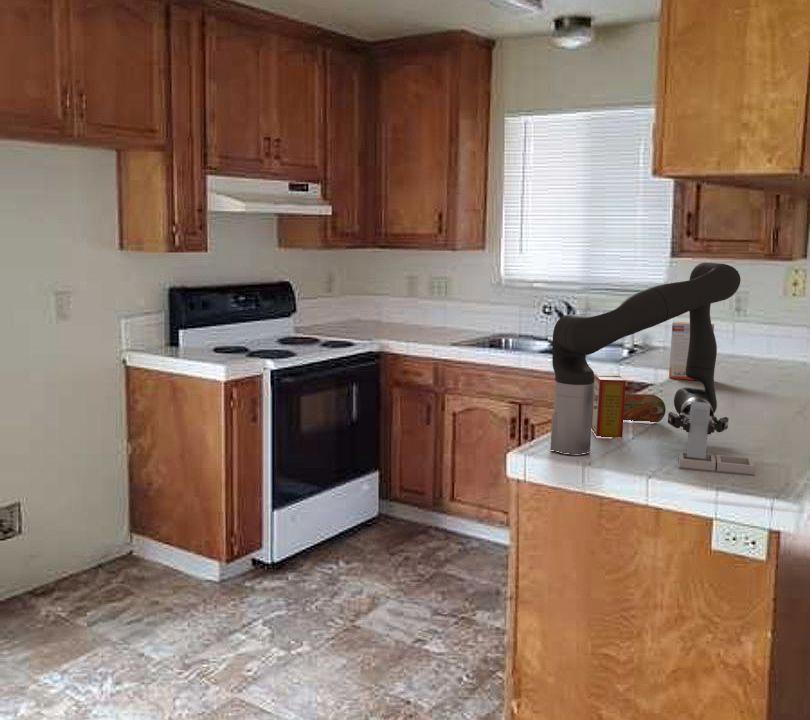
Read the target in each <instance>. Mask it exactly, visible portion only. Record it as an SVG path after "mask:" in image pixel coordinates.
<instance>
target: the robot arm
mask: <svg viewBox="0 0 810 720" xmlns="http://www.w3.org/2000/svg"><path fill="white" fill-rule="evenodd" d="M740 285H741V275H740V273H739V271H738V270H737V269H736V268H735V267H733V266H731V265H729V264H725V263H720V262H719V263H718V262H699V263H698V264H697V265H695V266H694V267H693V269H692V270H691V272H690V275H689V280H688V279H687V280H683V281H678V282H677V281H676V282H670V283H662V284H658V285H654V286H650V287H647V288H645V289H642V290H640V291H637V292H635V293H633V294H631V295H629V296H628V297H627V298H625V300H623V301H622V302H621V303H620V305H619V306H617V307H616V308H615V309H611V310H610V311H607V312H604V313H601V314H598V315H593V316H584V315H579V314H571V313H570V314H565V315H562V316H561V317H560V318H559V319H558V320H557V321H556V323H555V325H554V328H553V331H552V343H551V344H552V347H551V348H552V350H551V351H552V359H551V360H552V362H551V363H552V364H551V365H552V370H553V372H554V376H555V377H554V393H553V396H554V397H553V412H552V414H551V429H550V430H551V432H550V450H554V451H559V452H562V453H569V454H582V453H587V452H589V451H590V452H591V446H592V445H591V439H592V431H591V426H592V409H593V391H594V374H595V372H594V370H593V369H592V368H591V367H590V366H589V364H588V361H587V359H586V356H588V355H592V354H594V353H596V352H598V351H600V350H602V349H604V348H606V347H608V346H609V345H611V344H613V343H615V342H617V341H619V340H620V339H623V338H626V337H628V336H632V335H634V334H637V333H639V332H642V331H644V330H647V329H650V328H652V327H655V326H657V325H661V324H662V323H665V322H667V321H669V320H671V319H674V318H676V317H679V316H682V315H683V314H686V313H688V312H689V322H690V340H689V349H688V356H687V364H686V376H687V377H689V378H691V379H694V380H693V381H695V380H697V381H696V382H699V383H701V384H702V385H703V386H704V389H702V388H696V387H695V388H693V387H680V388H679V389H677V391H676V393H675V395H674V397H673V406H674V409H675V411H676V412H677V413H675V412H672V411H669V412H668V415H667V424H669V425H670V426H672V427H673V428H676V429H680V428H681V427H682V430H683V431H685V433H688V432H689V431H690V420H689V419H690V407H691V402H703V403H710V414H709V424H708V433H707V434H708V435H711V434H713V433H715V432H716V433H722V432H725V430H727V429H728V428H729V419H730V418H729V417H726V416H723V417H719V419H718V418H717V417H716V416H715V412H716V411H717V407H718V402H717V401H718V400H717V394H716V388H715V370H716V369H715V368H716V362H717V356H718V355H717V353H718V347H717V345H718V344H717V339H716V336H715V331H714V332H713V328H712V324H713V323H712V320H711V304H714V303H718V302H722V301H725V300H728V299H730V298H731V297H733V296H734V295H735V294H736V292H737V291H738V290H739V288H740ZM550 450H549V451H550Z"/></svg>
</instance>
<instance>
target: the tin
mask: <svg viewBox="0 0 810 720" xmlns="http://www.w3.org/2000/svg"><path fill="white" fill-rule="evenodd" d="M666 410H667V409H666V404H665V402H664V400H662V398H661V397H659V396H657V395H655V394H650V393H649V394H647V393H626V392H625V400H624V417H623V420H631V421H632V420H633V421H650V422H658V423H659V422H661V421H662V420H663V419H664V417H665V414H666Z"/></svg>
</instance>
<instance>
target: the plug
mask: <svg viewBox="0 0 810 720" xmlns="http://www.w3.org/2000/svg"><path fill="white" fill-rule="evenodd" d="M709 414H710V403H703V402H691V407H690V419H689V420H690V431H689V432H687V433H688V434H687V444H686V452H687V457H694V458H703V459H706V454H707V444H708V435H709V434H707V433H708V424H709Z"/></svg>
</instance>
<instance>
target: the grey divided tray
mask: <svg viewBox="0 0 810 720" xmlns="http://www.w3.org/2000/svg"><path fill="white" fill-rule="evenodd" d="M677 457H678V458H677V461H678V462H677V463H678V465H677V467H678V470H682V471H683V470H685V471H695V472H703V473H704V472H706V473H712V474H713V473H714V474H715V473H716V474H724V475H725V474H726V475H737V476H743V477H744V476H745V477H756V475H755V472H754V471H755V463H754V461H753V459H752V457H745V456H737V455H735V456H734V455H724V454H712V453H706V459H703V458H694V457H687V451H679V456H677Z"/></svg>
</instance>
